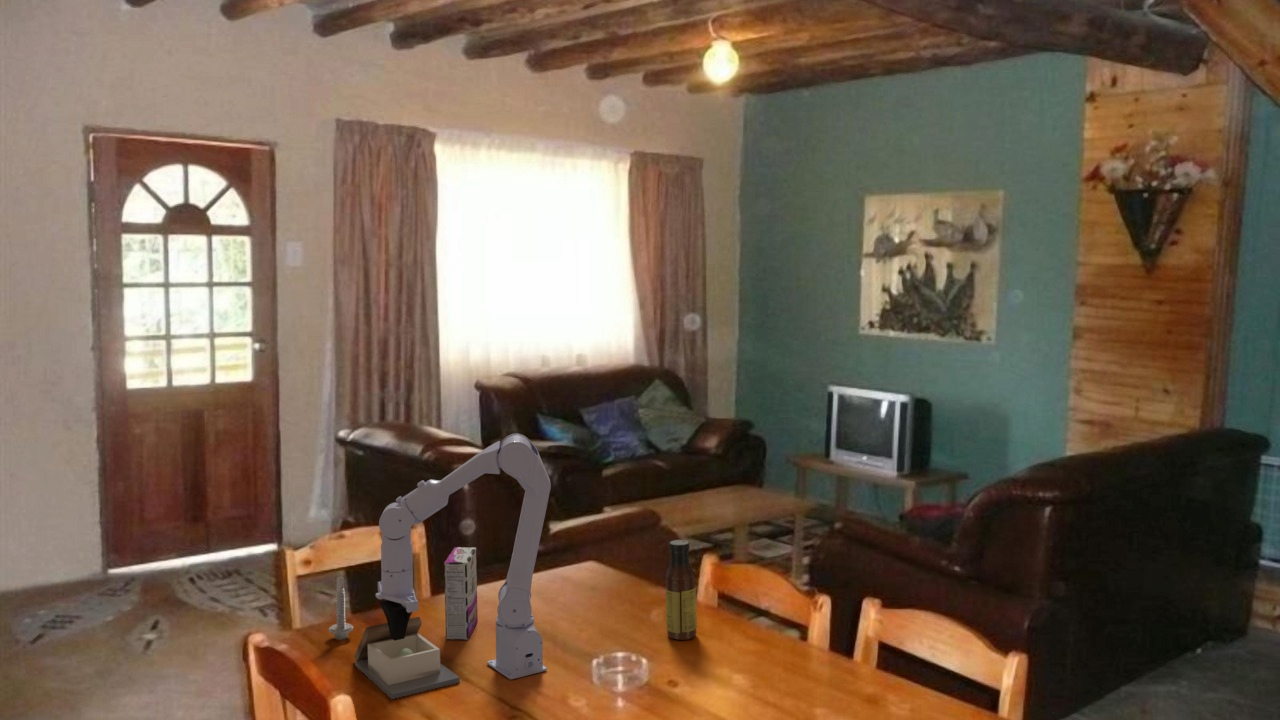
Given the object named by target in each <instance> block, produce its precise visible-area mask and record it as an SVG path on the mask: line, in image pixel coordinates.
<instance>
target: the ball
mask: <svg viewBox="0 0 1280 720" xmlns="http://www.w3.org/2000/svg"><path fill="white" fill-rule="evenodd" d="M410 654H413V652H412V651H411V650H410V649H408V648H404V649H401V650H400V651H399V652H398V654H397V657H401V656H405V655H410Z"/></svg>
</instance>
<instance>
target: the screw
mask: <svg viewBox="0 0 1280 720" xmlns="http://www.w3.org/2000/svg"><path fill="white" fill-rule="evenodd" d="M344 586H345V585H344V577H343V576H341V575H340V576H338V577H336V588H335V589H336V590H335V592H336V593H335V595H336V596H335V597H336V599H335V600H336V601H335V603H336V604H335V606H336V608H335V611H336V613H335V614H336V616H335V617H336V619H335V620H336V623H335V624H332V625H331V626H329V628H328V632H329V633H331V634H333V635H334V640H335V639H338V640H337V641H343V640H342V639H344V640H347V639H348V637H349V633H350V632H352V631H353V630H354V625H352V624H351V623H348V622H346V590H345V587H344ZM346 638H347V639H346Z"/></svg>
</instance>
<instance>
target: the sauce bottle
mask: <svg viewBox="0 0 1280 720" xmlns="http://www.w3.org/2000/svg"><path fill="white" fill-rule="evenodd" d="M669 550H670V561H669V562H670V563H669V566H668V567H667V569H666V571H665V608H666V609H665V611H666V612H665V613H666V616H665V617H666V621H665V622H666V633H667V635H668V637H669V638H671V639H673V640H678V641H679V640H680V641H686V640H687V641H688V640H691V639H694V638H696V636H697V628H698V625H697V624H698V623H697V622H698V621H697V597H696V596H697V589H696V587H697V586H696V579H695V577H696V575H695V574H696V573H695V571H694V570H693V567H692V566H691V563H690V557H689V553H690V552H689V551H690V542H689V540H684V539H674V540H671V541H670V542H669Z"/></svg>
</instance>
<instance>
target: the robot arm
mask: <svg viewBox="0 0 1280 720" xmlns="http://www.w3.org/2000/svg"><path fill="white" fill-rule="evenodd" d="M501 470H502V471H503V472H504V473H506V474H507V475H509V476H511V478H513V479H515V480H517V483H519V485H520V486H521V488H523V490H524V495H523V500H522V505H521V509H520V510H521V511H520V516H519V520H518V525H517V530H516V533H515V540H514V543H513V547H512V548H513V550H512V554H511V557H510V558H511V559H510V563H509V564H510V565H509V568H508V571H507V575H506V579H505V581H504V583H502V585H501V586H500V588H499V590H498V597H497V598H498V605H497V610H496V611H497V616H496V617H495V659H491V660H488V661H487V663H486V664H487V665H489V667H491V668H492V669H494V670H496V671H497V672H498V673H500V674H502V676H504V677H506V678H507V679H509V680H514V679H519V678H522V677H527V676H529V675H530V676H531V675H534V674H537V673H542V672H546V671H547V670H548V668H547V667H546V666H545V665H544V663H543V661H544V659H543V658H544V656H543V652H544V648H543V647H544V645H543V644H544V643H543V641H544V640H543V637H542V634H541V633H540V632H538V630H537V629H536V627H535V619H534V618H535V617H534V615H533V614H532V610H533V609H532V603H531V602H532V601H531V599H532V592H531V590H532V583H533V582H532V581H533V576H534V571H535V566H536V562H537V556H538V552H539V545H540V541H541V536H542V531H543V527H544V522H545V518H546V512H547V507H548V503H549V498H550V493H551V488H552V487H551V486H552V485H551V479H550V477H549V474H548V471H547V469H546V467H545V464H544V463H543V460H542V457H541V456H540V453H539V450H538V448H537V446H536V445H534V444H533V442H532V441H531V439H529V438H528V437H527V436H525V435H524V434H521V433H512V434H509V435H507V436H506V437H504V438H503V439H502V441H500V440H498V441H496V442H494V443H492V444H491V445H489V446H487V447H486V448H484V449H483V450H481V451H479V452H478V453H477V454H475V455H474V456H472V457H471V458H470V459H469V460H466V462H464V463H463V464H461V465H460V466H459V467H457V468H456V469H454V470H453V471H452V472H450V473H449V474H448V475H446V476H444V477H443V478H442V479H441V480H440V479H439V480H437V479H429V480H427V481H425V480H421V481H419V482H417V484H416V486H417V487H416V488H415V489H413V490H412V491H410V492H409V493H407V494H405V495H404V496H401V495H400V496H398V497H397V498H396V499H395V502H391V503H390V504H388V505H386V506H385V508H384V510H383V512H382V514H381V515H380V517H379V521H378V527H379V531H380V532H381V536H380V539H381V544H380V563H381V564H380V565H381V566H380V567H381V569H380V570H381V572H380V573H381V574H380V575H381V576H380V577H381V580H380V581H377V592H376V593H375V598H377V599H378V600H382V601H380V602H379V606H380V607H381V610H382V612H383V614H384V617H385V619H386V622H387V623H388V626H389V630H390V634H391V638H392V639H393V640H394V641H396V640H400V639H404V638H405V634H406V630H407V625H408V622H409V619H411V616H412V614H413V612H418V611H419V600H418V599H417V598H416V597H417V596H416V593H415V588H414V575H413V574H414V571H413V570H414V569H413V568H414V566H413V565H414V564H413V562H414V561H413V558H414V557H413V542H412V526H414V525H418V524H421V523H422V522H424V521H426V520H427V519H428V518H429V517H431V516H433V515H434V514H435V513H437V512H439V511H440V510H442V509H443V508H444V507H446V506H448V503H449V497H450V495H452V494H453V493H455V492H457V491H458V490H460V489H462V488H463V487H465V486H467V485H468V484H470V483H472V482H473V481H475V480H476V479H478V478H479V477H481V476H483V475H484V474H489V475H490V474H493V475H500V474H501Z"/></svg>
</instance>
